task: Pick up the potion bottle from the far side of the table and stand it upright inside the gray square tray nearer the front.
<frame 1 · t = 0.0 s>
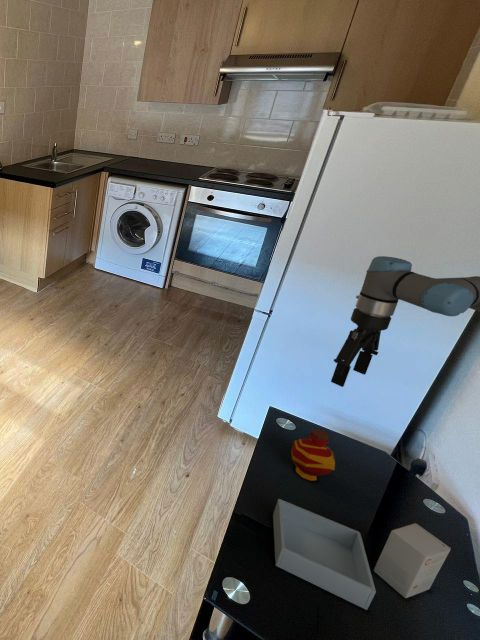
hand: (348, 378, 117), 31 cm above the table, tool pointing down, fingers open, 13 cm apart
small box: (400, 580, 94), on the table
gray square tray: (314, 557, 98), on the table
potion bottle: (306, 474, 122), on the table
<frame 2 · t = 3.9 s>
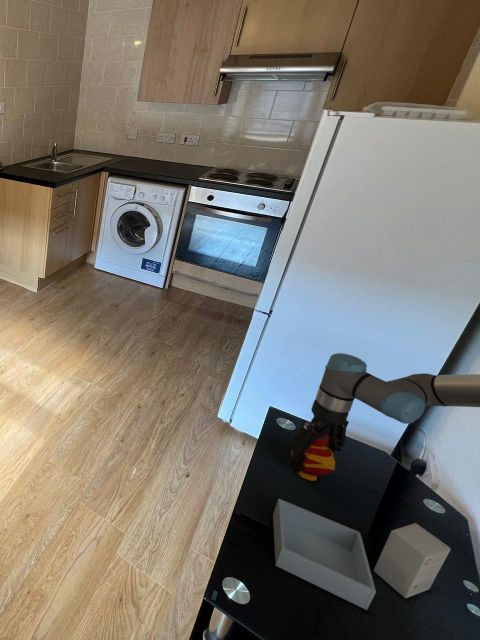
hand: (309, 466, 121), 3 cm above the table, tool pointing down, fingers closed on potion bottle, 10 cm apart
potion bottle: (306, 474, 122), on the table, touching gripper
everything else where it was.
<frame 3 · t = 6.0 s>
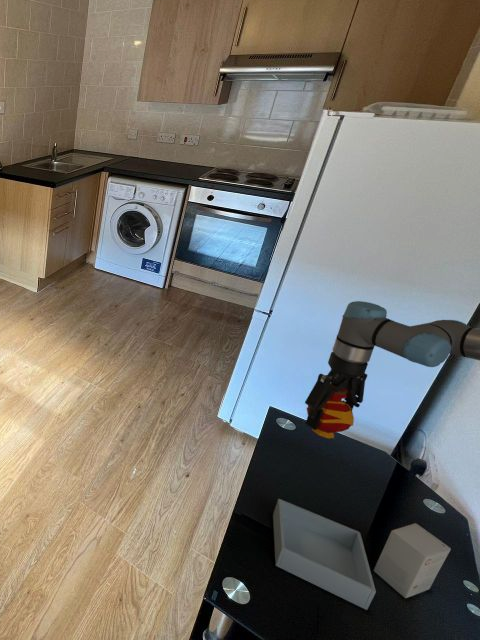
hand: (326, 424, 116), 19 cm above the table, tool pointing down, fingers closed on potion bottle, 10 cm apart
potion bottle: (323, 432, 117), point 16 cm above the table, touching gripper
everything else where it was.
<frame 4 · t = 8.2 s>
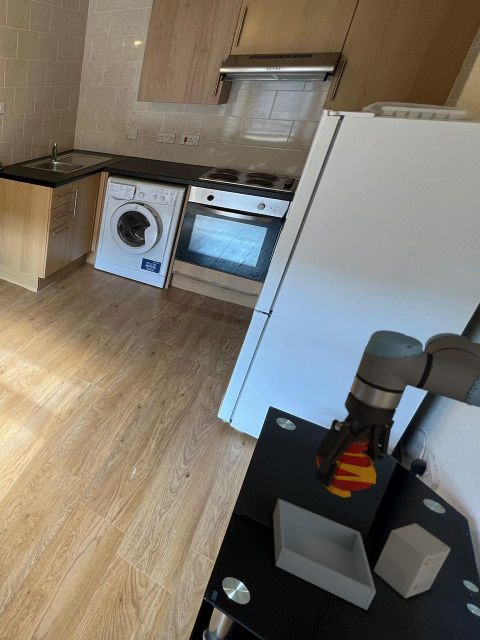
hand: (340, 479, 94), 22 cm above the table, tool pointing down, fingers closed on potion bottle, 10 cm apart
potion bottle: (336, 488, 95), point 19 cm above the table, touching gripper
everything else where it was.
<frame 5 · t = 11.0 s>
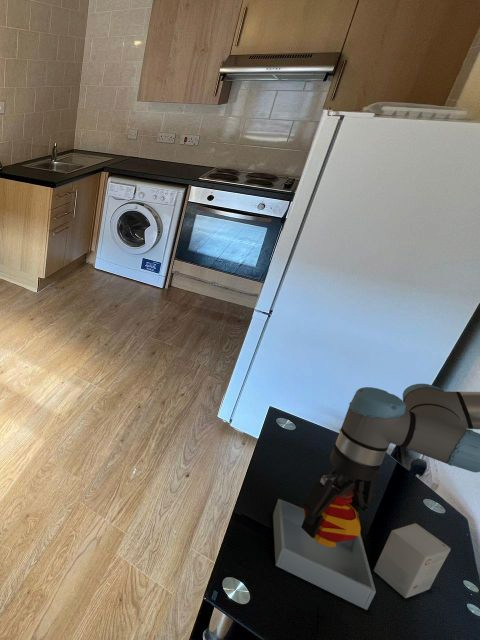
hand: (326, 528, 95), 9 cm above the table, tool pointing down, fingers closed on potion bottle, 10 cm apart
potion bottle: (322, 537, 96), point 6 cm above the table, touching gripper
everything else where it was.
when the fingers open (3 cm above the table, at t = 13.0 s): potion bottle stays where it is, resting on gray square tray.
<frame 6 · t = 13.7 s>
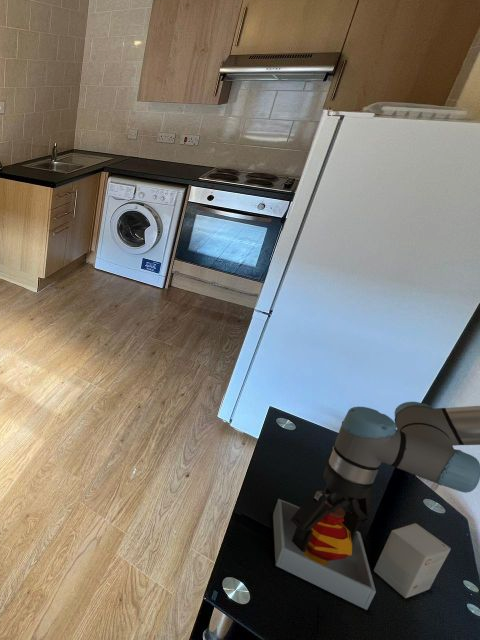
hand: (321, 541, 96), 5 cm above the table, tool pointing down, fingers open, 13 cm apart
potion bottle: (315, 555, 98), point 1 cm above the table, touching gray square tray
everything else where it was.
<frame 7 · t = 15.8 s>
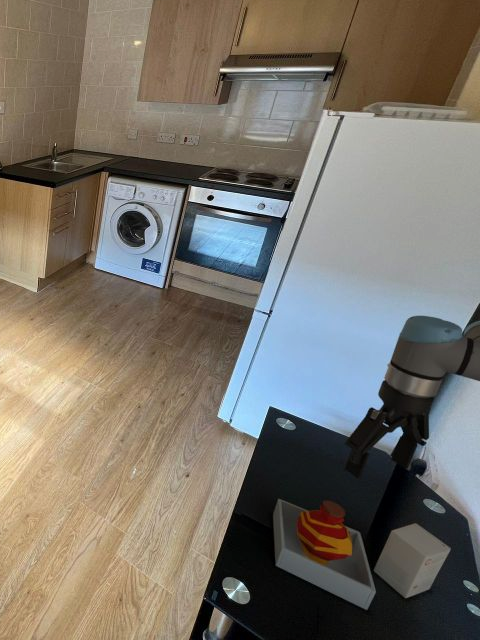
hand: (376, 468, 90), 27 cm above the table, tool pointing down, fingers open, 13 cm apart
nothing on the table moved.
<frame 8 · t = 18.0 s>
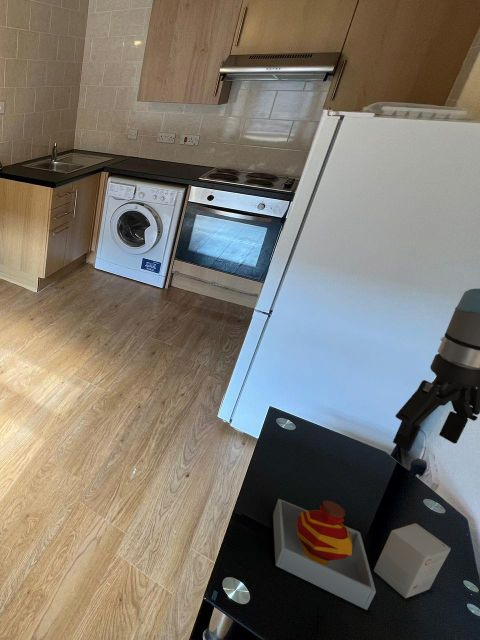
hand: (424, 442, 91), 33 cm above the table, tool pointing down, fingers open, 13 cm apart
nothing on the table moved.
at the end: potion bottle inside the target area in the gray square tray (0.1 cm from its centre), point 0.6 cm above the gray square tray's base; potion bottle tilted 0°; the gripper is holding nothing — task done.
